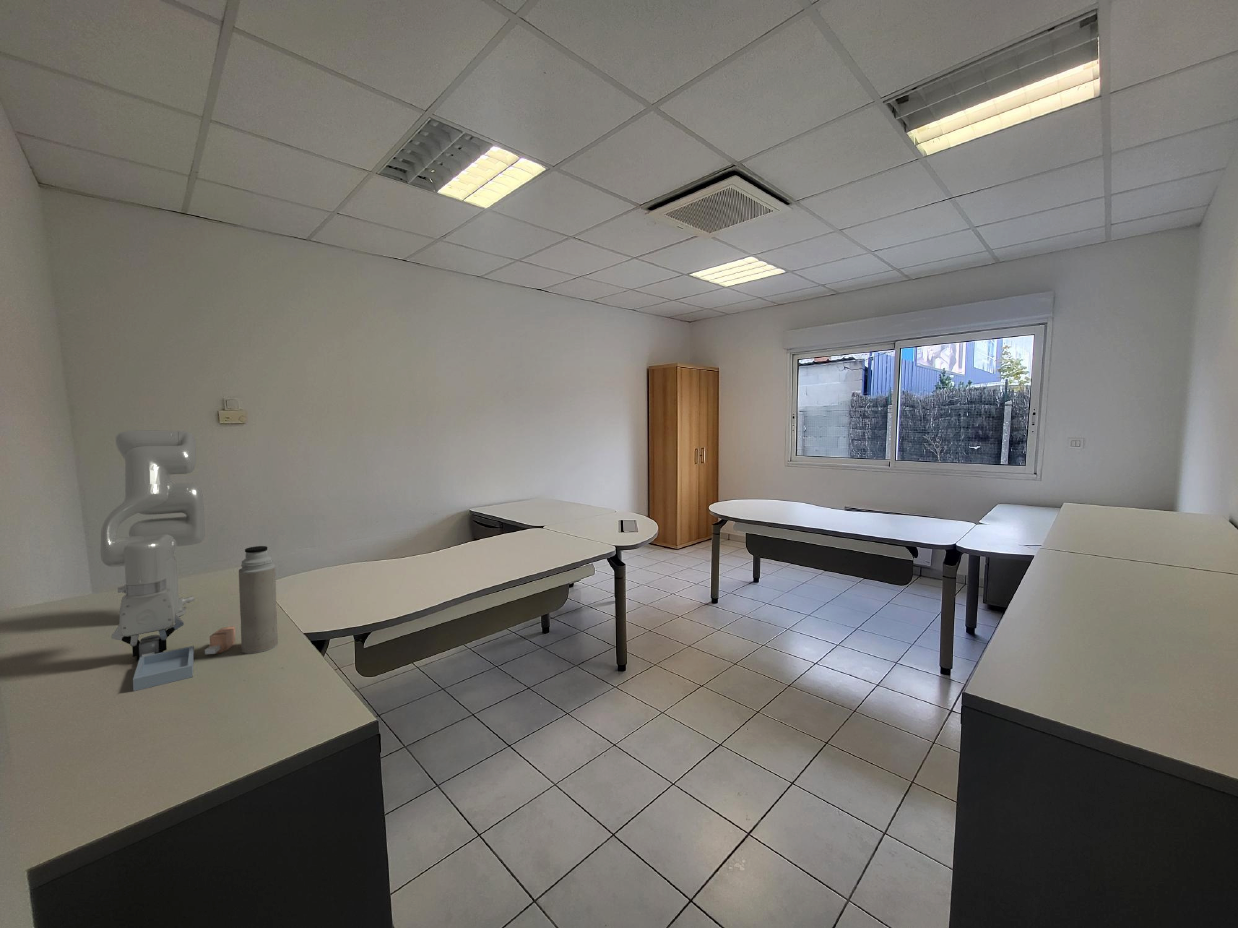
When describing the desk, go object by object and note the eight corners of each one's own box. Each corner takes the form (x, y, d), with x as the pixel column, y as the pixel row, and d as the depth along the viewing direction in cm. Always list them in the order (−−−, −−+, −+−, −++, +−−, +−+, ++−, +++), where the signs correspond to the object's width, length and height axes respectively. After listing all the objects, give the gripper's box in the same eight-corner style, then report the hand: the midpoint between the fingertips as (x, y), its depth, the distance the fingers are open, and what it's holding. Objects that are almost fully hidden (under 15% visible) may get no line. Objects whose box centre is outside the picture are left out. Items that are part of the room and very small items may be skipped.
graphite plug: (142, 653, 126) (141, 637, 126) (161, 649, 128) (160, 633, 128) (137, 667, 119) (136, 650, 118) (157, 662, 121) (156, 645, 121)
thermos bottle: (267, 638, 136) (263, 542, 134) (284, 644, 132) (280, 545, 131) (235, 649, 129) (231, 548, 127) (252, 656, 125) (248, 552, 123)
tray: (140, 667, 118) (140, 656, 118) (194, 655, 125) (193, 645, 125) (133, 691, 108) (132, 679, 108) (192, 676, 114) (191, 665, 114)
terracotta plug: (223, 642, 133) (222, 626, 133) (238, 640, 134) (237, 625, 134) (202, 658, 124) (201, 642, 123) (218, 656, 125) (217, 640, 124)
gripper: (97, 598, 115) (101, 671, 116) (189, 585, 126) (192, 651, 127) (102, 590, 121) (106, 660, 122) (190, 578, 131) (193, 642, 133)
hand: (150, 655), depth 124 cm, fingers closed on graphite plug, 3 cm apart
